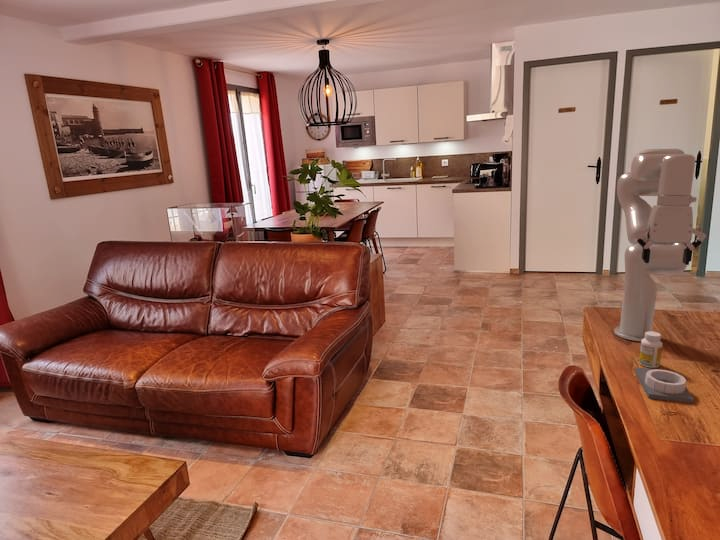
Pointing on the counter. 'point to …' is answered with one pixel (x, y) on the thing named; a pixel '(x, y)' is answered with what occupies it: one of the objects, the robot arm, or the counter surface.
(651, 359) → the supplement bottle
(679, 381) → the collar board
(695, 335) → the counter surface
